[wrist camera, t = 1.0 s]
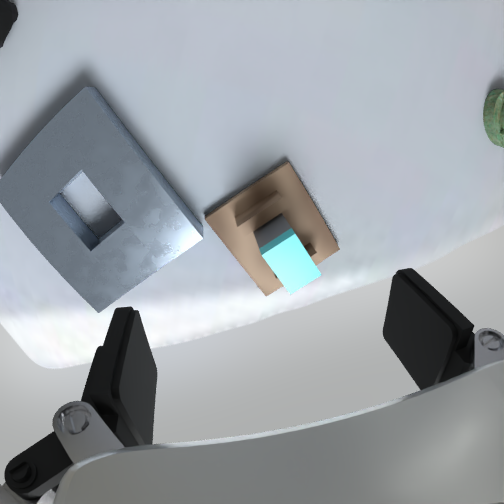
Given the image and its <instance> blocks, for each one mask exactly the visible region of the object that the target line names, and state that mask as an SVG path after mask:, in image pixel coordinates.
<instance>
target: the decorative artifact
mask: <svg viewBox="0 0 504 504" xmlns="http://www.w3.org/2000/svg"><path fill="white" fill-rule="evenodd" d="M483 120H484V126H485V130H486V133H487V135H488V137H489V139H490V140H491V141H492V142H493V143H494V144H495V145H497V146H500V147H503V148H504V90H502V89H495V90H493V91H491V92H490V93H489V95H488V96H487V98H486V101H485V104H484V110H483Z"/></svg>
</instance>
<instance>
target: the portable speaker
mask: <svg viewBox="0 0 504 504" xmlns="http://www.w3.org/2000/svg"><path fill="white" fill-rule="evenodd" d="M17 17H18V12H17V9H16V6H15V5H14V4H13V3H11V2H9V1H8V0H0V48H1V47H3V43H4V40H5V39H6V37H7V35H8V33H9V31H10V29H11V27H12V25H13V23H14V22H15V21H16V20H17Z"/></svg>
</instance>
